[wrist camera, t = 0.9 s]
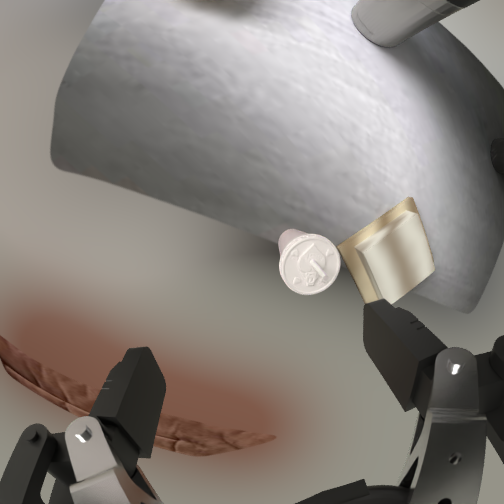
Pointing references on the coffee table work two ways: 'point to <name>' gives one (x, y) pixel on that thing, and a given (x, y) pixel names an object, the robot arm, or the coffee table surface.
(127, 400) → the robot arm
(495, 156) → the travel mug
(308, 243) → the smoothie
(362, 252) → the base
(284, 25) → the coffee table surface
